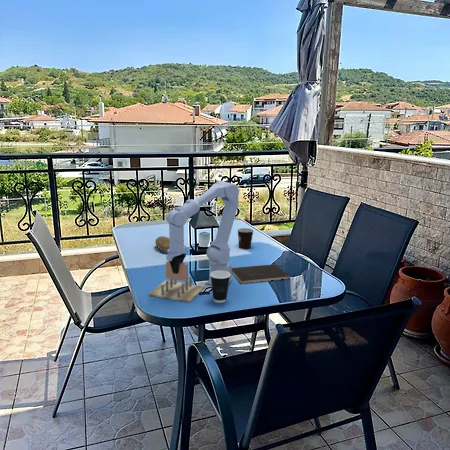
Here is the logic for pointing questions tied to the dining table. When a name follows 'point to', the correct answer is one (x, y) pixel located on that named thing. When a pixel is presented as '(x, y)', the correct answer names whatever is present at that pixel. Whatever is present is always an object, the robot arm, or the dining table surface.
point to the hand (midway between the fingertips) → (176, 272)
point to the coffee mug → (245, 238)
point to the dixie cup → (220, 285)
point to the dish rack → (177, 290)
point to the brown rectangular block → (181, 274)
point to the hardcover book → (259, 273)
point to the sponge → (162, 243)
